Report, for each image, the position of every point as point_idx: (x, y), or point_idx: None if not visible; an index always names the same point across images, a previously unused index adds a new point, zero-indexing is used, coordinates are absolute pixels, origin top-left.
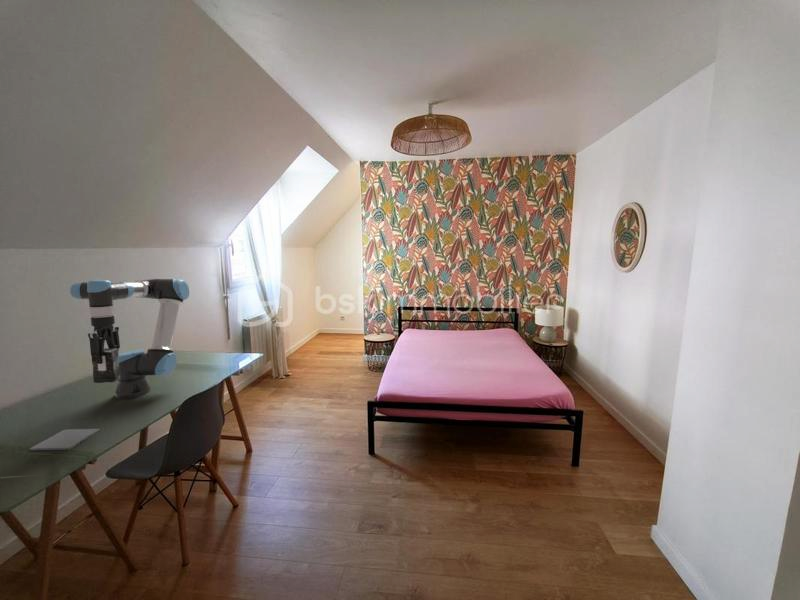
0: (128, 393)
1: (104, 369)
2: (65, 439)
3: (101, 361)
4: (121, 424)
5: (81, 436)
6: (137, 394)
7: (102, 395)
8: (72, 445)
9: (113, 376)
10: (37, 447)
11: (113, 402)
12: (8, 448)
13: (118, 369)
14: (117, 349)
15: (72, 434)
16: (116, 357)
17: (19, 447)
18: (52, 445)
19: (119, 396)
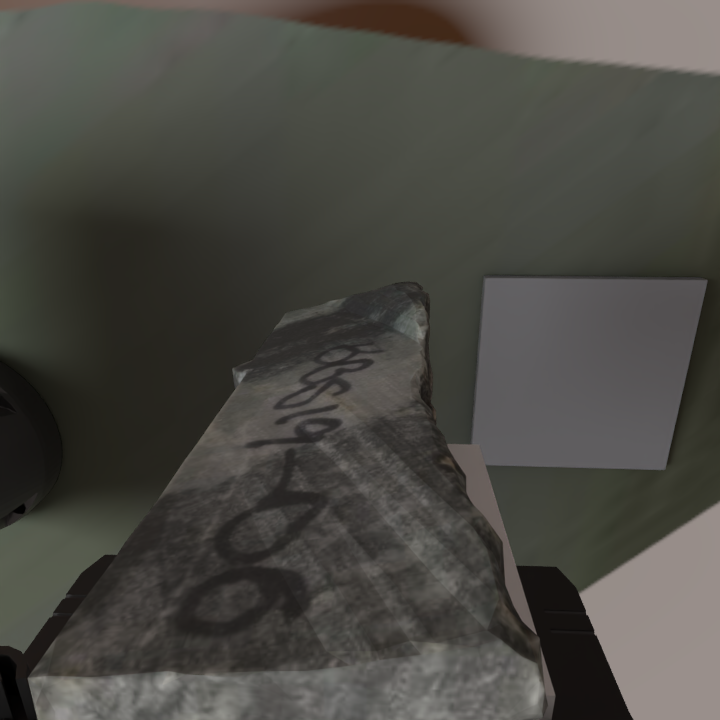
0: (23, 427)
1: (480, 464)
2: (597, 373)
3: (546, 603)
4: (410, 194)
5: (574, 313)
6: (2, 378)
7: (30, 580)
8: (685, 281)
9: (429, 315)
10: (662, 444)
11: (108, 463)
12: (613, 565)
13: (284, 353)
14: (75, 662)
15: (539, 380)
16: (254, 476)
17: (613, 530)
18: (656, 389)
19: (51, 468)
